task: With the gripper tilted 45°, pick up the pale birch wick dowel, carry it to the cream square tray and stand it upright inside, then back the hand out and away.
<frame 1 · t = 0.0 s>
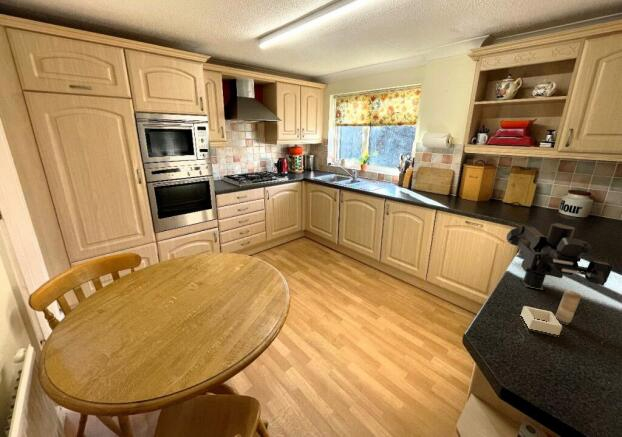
hand: (582, 280, 75), 16 cm above the kitchen counter, tool horizontal, fingers open, 9 cm apart
cream square tray: (537, 326, 80), on the kitchen counter
wick dowel: (561, 321, 82), on the kitchen counter
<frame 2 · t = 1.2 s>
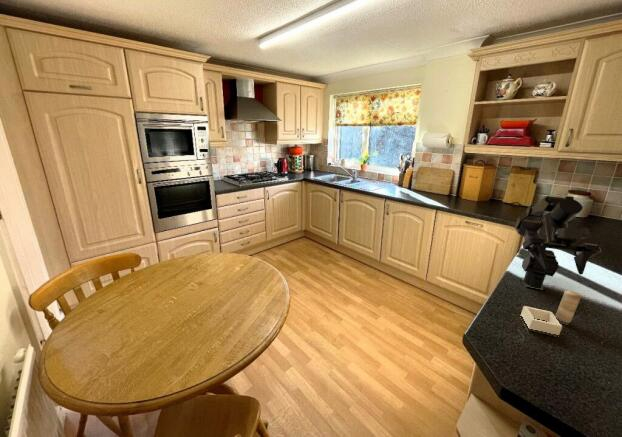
hand: (563, 271, 85), 14 cm above the kitchen counter, tool tilted 45°, fingers open, 9 cm apart
nothing on the kitchen counter moved.
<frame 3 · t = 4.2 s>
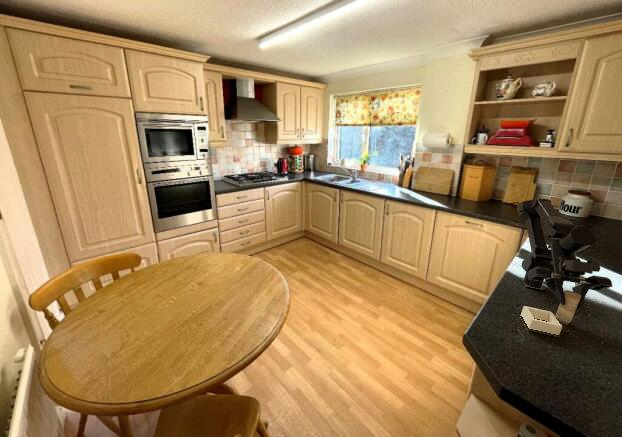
hand: (571, 306, 79), 7 cm above the kitchen counter, tool tilted 45°, fingers closed on wick dowel, 4 cm apart
wick dowel: (561, 321, 82), on the kitchen counter, touching gripper
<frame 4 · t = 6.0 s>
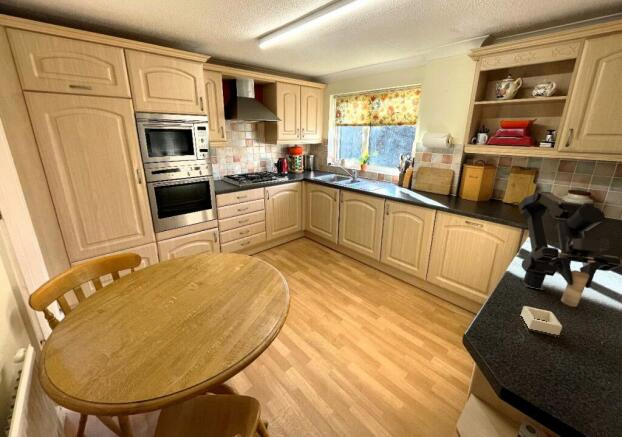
hand: (579, 286, 77), 14 cm above the kitchen counter, tool tilted 45°, fingers closed on wick dowel, 4 cm apart
wick dowel: (569, 302, 80), point 7 cm above the kitchen counter, touching gripper
when the fingers open (9 cm above the kitchen counter, at t = 8.2 s): wick dowel drops 2 cm, resting on cream square tray.
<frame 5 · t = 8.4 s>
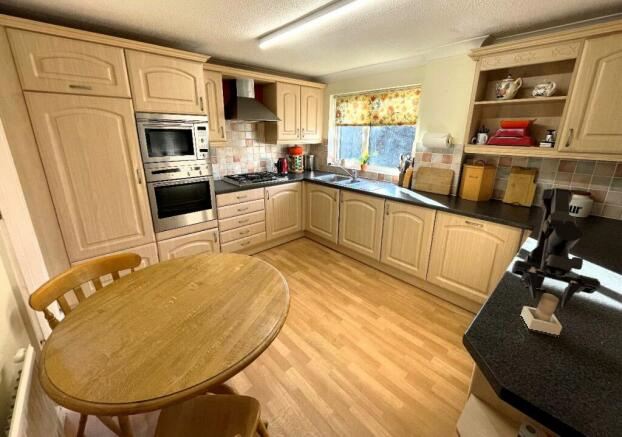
hand: (548, 303, 76), 9 cm above the kitchen counter, tool tilted 45°, fingers open, 6 cm apart
wick dowel: (538, 324, 80), point 1 cm above the kitchen counter, touching cream square tray
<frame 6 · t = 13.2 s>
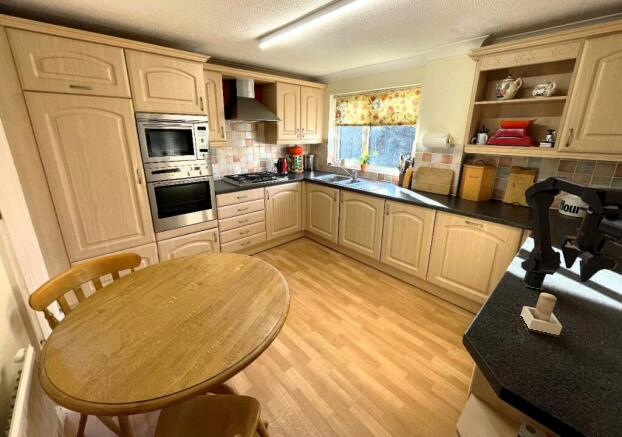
hand: (575, 274, 84), 13 cm above the kitchen counter, tool pointing down, fingers open, 9 cm apart
nothing on the kitchen counter moved.
at the end: wick dowel 0.0 cm off-centre on the cream square tray, point 0.6 cm above the cream square tray's base; wick dowel tilted 1°; the gripper is holding nothing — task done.
